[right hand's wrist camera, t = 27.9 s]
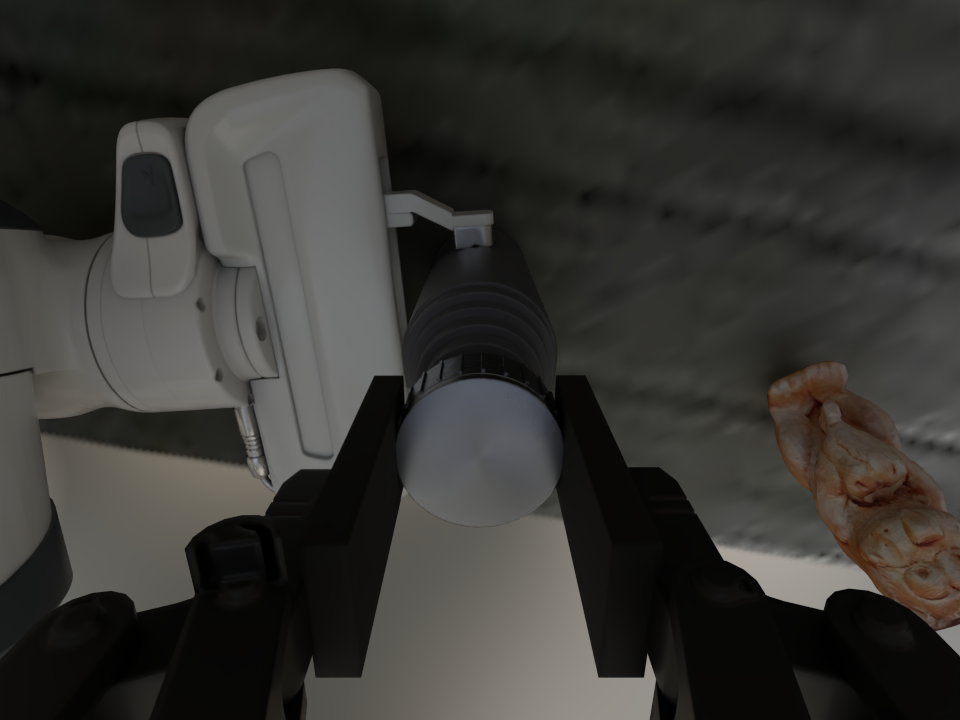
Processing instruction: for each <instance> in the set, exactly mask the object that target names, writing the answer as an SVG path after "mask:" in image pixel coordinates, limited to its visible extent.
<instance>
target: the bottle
mask: <svg viewBox="0 0 960 720" xmlns="http://www.w3.org/2000/svg"><path fill="white" fill-rule="evenodd" d="M494 243H495V245H494V246H491V247H479V246H477V245H474V246H472V247H471V248H466V249H456V247H455V237H454V234H453V235H452V236H451V237H449V238H448V239H447V240H446V241H445V242H444V243H443V245H442V246H441V247H440V249H439V250H438V252H437V255H436V257H435V259H434V262H433V264H432V267H431V269H430V272H429V274H428V277H427V279H426V282H425V284H424V286H423V289H422V291H421V294H420V296H419V299H418V301H417V304H416V306H415V309H414V311H413V314H412V316H411V319H410V321H409V324H408V326H407V329H406V332H405V335H404V339H403V345H402V360H403V369H404V375H405V379H406V383H407V386H408V388H409V390H410V388H411V386H412V387H414V386H415V384H416V383H417V381H418V380H419V379H420V378H421V377H422V374H423V372H424V371H425V372H427V371H429V370H430V369H431V368H433V367H434V366H436V365H437V364H439V362H440V361H441V360H443V361H445V360H447V359H450V358H452V357H456V356H459V355H460V354H461V353H463V355H464V354H471V353H481V352H485V353H488V354H496V355H500V356H503V355H506V357H507V358H510V359H513V360H515V361H517V362H519V363H521V364H522V363H524V364H525V365H526V367H527V368H528V369H530V370H531V371H532V372H533V373H534V374H536V375H537V376H540V377H541V379H542V382H543V383H544V384H545V386H546V388H547V389H548V391H550V388H551V386H552V384H553V380H554V376H555V370H556V362H557V344H556V338H555V335H554V331H553V328H552V326H551V323H550V321H549V318H548V316H547V313H546V311H545V308H544V306H543V303H542V301H541V298H540V296H539V293H538V291H537V288H536V286H535V283H534V281H533V279H532V276H531V274H530V271H529V269H528V266H527V264H526V261H525V259H524V256H523V254H522V252H521V250H520V248H519V247H518V245H517V244H516V243H515V242H514V241H513V240H512V239H511V238H510V237H509V236H507V235H506V234H504V233H503V232H501V231H499V230H496V229H494Z"/></svg>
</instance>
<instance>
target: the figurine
mask: <svg viewBox="0 0 960 720" xmlns="http://www.w3.org/2000/svg"><path fill="white" fill-rule="evenodd" d="M848 377H849V376H848V373H847V370H846V367H845V365H844V364H839V363H837V362H835V361H825V362H821V363H817V364H812V365H810V366H808V367H806V368H803V369H801V370H799V371H797V372H795V373H792V374H790V375H788V376H785V377H783V378H780V379H778V380H776V381H774V382H773V383H772V384H771V385H770V386H769V389H768V391H767V399H768V406H769V410H770V413H771V415H772V417H773V418H774V424H775V433H776V439H777V443H778V447H779V450H780V452H781V455H782V457H783V460H784V462H785V464H786V465H787V467H788V469H789V470H790V472H791V473H792V475H793V476H794V477H795V478H796V479H797V480H798V481H799V483H800V484H801V485H802V486H804V487H805V488H807V489H808V490H810V491H811V492H812V493H813V496H814V499H815V504H816V509H817V511H818V513H819V515H820V517H821V518H822V520H823V521H824V523H825V524H826V525H827V526H828V528H829V529H830V531H831V532H832V533H833V535H834V537H835V539H836V541H837V542H838V544H839V545H840V547H841V548H842V550H843V551H844V552H845V554H846V555H847V556H848V557H849V558H850V559H851V560H852V561H854V562H855V563H856V564H857V565H858V566H859V567H860V568H861V569H862V570H863V571H864V572H865V573H866V574H867V575H868V576H869V578H870V579H871V580H872V582H873V583H874V585H875V587H876V588H877V589H878V590H879V591H880V592H881V593H882V594H883V596H886V597H889V598H890V599H892V600H894V601H896V602H898V603H900V604H902V605H903V606H905V607H907V608H909V609H910V610H912V611H913V612H914V613H915V614H917V615H918V616H919V617H920V618H921V619H923V620H924V621H925V622H926V623H927V624H928V625H929V626H930V627H931V628H932V629H933V630H934V631H938V630H942V629H946V628H949V627H953V626H956V625H958V624H960V522H959V520H958V519H956V518H955V517H954V516H953V515H951V514H949V513H948V509H947V506H946V504H945V499H944V495H943V492H942V489H941V488H940V487H939V485H938V484H937V483H936V481H935V480H934V479H933V478H932V477H931V476H930V475H929V474H928V473H927V472H926V471H925V470H924V469H923V468H921V467H920V466H919V465H918V464H917V463H915V462H913V461H911V460H910V459H908V458H907V457H906V456H905V455H904V454H903V453H902V450H901V443H900V438H899V434H898V431H897V429H896V427H895V425H894V423H893V420H892V419H891V418H890V416H889V415H888V414H887V413H886V412H884V411H883V410H882V409H880V408H879V407H878V406H877V405H875V404H874V403H872V402H870V401H868V400H866V399H864V398H862V397H860V396H858V395H856V394H854V393H852V392H850V391H848V390H846V389H845V386H846V383H847V380H848Z"/></svg>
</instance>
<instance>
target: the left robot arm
mask: <svg viewBox="0 0 960 720" xmlns="http://www.w3.org/2000/svg"><path fill="white" fill-rule="evenodd" d="M418 215H420V216H422V217H425V218H427V219H429V220H431V221H433V222H435V223H437V224H439V225H441V226H443V227H446V228H448V229H450V230H452V231H453V230H454V237H455V247H456V249H466V248H471V247H472V246H474V245H477V246H479V247H491V246H494V245H495V243H494V222H493V210H473V211H458V212H454V209H453V208H451V207H449V206H447V205H445V204H443V203H441V202H439V201H437V200H435V199H433V198H431V197H429V196H427V195H425V194H423V193H421V192H419V191H417V190H406V191H392V187H391V179H390V170H389V162H388V154H387V145H386V137H385V128H384V120H383V112H382V103H381V97H380V94H379V93H378V91H377V90H376V89H375V88H374V87H373V86H372V85H371V84H370V83H368V82H367V81H366V80H365V79H364V78H363V77H361V76H360V75H358V74H357V73H355V72H353V71H351V70H347V69H340V68H336V69H320V70H312V71H305V72H298V73H292V74H286V75H280V76H275V77H271V78H266V79H261V80H257V81H253V82H249V83H245V84H241V85H238V86H235V87H231V88H228V89H225V90H222V91H220V92H217V93H215V94H213V95H211V96H210V97H208V98H206V99H205V100H204V101H202V102H201V103H200V104H199V105H198V106H197V107H196V108H195V109H194V111H193V112H192V114H191V115H190V118H174V117H170V118H153V119H146V120H140V121H136V122H131V123H128V124H126V125H124V126H123V127H122V128H121V130H120V132H119V135H118V138H117V149H116V204H115V223H114V232H112V233H109V234H106V235H103V236H100V237H97V238H93V239H89V240H74V239H70V238H65V237H61V236H55V235H44V234H43V231H44V229H43V228H41V227H40V226H39V225H38V224H37V223H35V222H34V221H33V220H32V219H30V218H29V217H27V216H26V215H24V214H23V213H21V212H20V211H18V210H17V209H15V208H13V207H12V206H10V205H8V204H6V203H5V202H3V201H1V200H0V659H1V658H2V657H3V656H4V655H5V654H6V653H7V652H8V651H9V650H10V649H11V648H12V647H13V646H14V645H15V644H16V643H17V642H18V641H19V640H20V639H21V638H22V637H23V636H24V635H25V634H26V633H27V632H28V631H29V630H30V629H31V627H32V626H33V625H35V624H36V623H37V622H38V621H39V620H41V619H42V618H43V617H44V616H46V615H47V614H48V613H49V612H51V611H52V610H54V609H56V608H58V607H59V605H60V604H61V602H62V601H63V599H64V597H65V596H66V594H67V592H68V590H69V588H70V586H71V583H72V579H73V572H72V568H71V564H70V560H69V556H68V553H67V549H66V545H65V541H64V537H63V534H62V530H61V526H60V522H59V518H58V514H57V511H56V507H55V505H54V502H53V500H52V499H51V498H50V496H49V489H48V482H47V476H46V469H45V462H44V456H43V449H42V442H41V436H40V429H39V422H38V419H49V418H64V417H71V416H77V415H81V414H84V413H87V412H90V411H93V410H95V409H98V408H102V407H117V408H121V409H125V410H130V411H135V412H166V411H183V410H200V409H214V408H232V407H233V409H234V413H235V416H236V420H237V424H238V428H239V431H240V434H241V436H242V439H243V441H244V444H245V447H246V451H247V455H246V458H247V464H248V467H249V470H250V472H251V474H252V476H253V477H254V478H260V480H261V481H262V483H263V484H264V485H265V486H266V487H267V488H268V489H269V490H271V491H272V492H274V493H275V495H276V494H277V492H278V490H279V489H280V487H281V485H282V484H283V482H285V481H286V480H287V479H289V478H290V477H291V476H292V475H294V474H295V473H296V472H298V471H299V470H300V469H331V468H332V466H333V464H334V462H335V460H336V458H337V455H338V453H339V451H340V449H341V447H342V445H343V442H344V440H345V438H346V436H347V434H348V432H349V429H350V427H351V425H352V423H353V421H354V419H355V416H356V414H357V412H358V410H359V408H360V406H361V403H362V401H363V399H364V397H365V395H366V393H367V390H368V388H369V386H370V384H371V382H372V379H373V377H374V375H403V376H404V395H405V404H406V401H407V397H408V394H409V388H408V386H407V383H406V379H405V375H404V369H403V360H402V345H403V339H404V335H405V332H406V329H407V326H408V322H407V314H406V305H405V297H404V289H403V280H402V272H401V263H400V255H399V246H398V238H397V230H396V227H405V226H412V225H413V223H414V222H415V221H416V220H417V219H418ZM269 474H270V477H271V480H270V479H269V477H268V475H269ZM407 495H408V492H407V491H406V489H405V488H403V492H402V497H401V499H402V498H404V497H405V496H407Z"/></svg>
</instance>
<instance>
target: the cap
mask: <svg viewBox="0 0 960 720" xmlns="http://www.w3.org/2000/svg"><path fill="white" fill-rule="evenodd" d="M557 414H558V411H557V407H556V404H555V401H554V397H553V394H552V392H551V391H550V392H549V391H548V389H547V388H546V386H545V384H544V383H543V382H542V379H541V377H540V376H537V375H536V374H534V373H533V372H532V371H531V370H530V369H528V368H527V367H526V365H525V364H524V363H522V364H521V363H519V362H517V361H515V360H513V359H510V358H507V357H506V355H503V356H500V355H496V354H488V353H485V352H481V353H471V354H464V355H463V353H461V354H460V355H459V356H456V357H452V358H450V359H447V360H445V361H443V360H441V361H440V362H439V364H437V365H436V366H434V367H433V368H431V369H430V370H429V371H427V372H425V371H424V372H423V374H422V377H421V378H420V379H419V380H418V381H417V383H416V384H415V386H414V387H412V386H411V388H410V390H409V394H408V397H407V401H406V404H404V405H403V408H402V411H401V415H400V418H399V422H398V431H397V435H396V454H397V470H398V475H399V478H400V480H401V482H402V484H403V486H404V488H405V489H406V491H407V492H408V494H409V495H410V496H411V497H412V499H413V500H414V501H415V502H416V503H418V505H420V506H421V507H422V508H423V509H425V510H426V511H427V512H429V513H431V514H432V515H434V516H436V517H438V518H440V519H442V520H444V521H447V522H450V523H453V524H457V525H462V526H469V527H491V526H498V525H502V524H506V523H510V522H512V521H515V520H518V519H520V518H522V517H524V516H526V515H528V514H529V513H531V512H532V511H534V510H535V509H536V508H538V507H539V506H540V505H541V504H542V503H543V502H544V501H545V500H546V499H547V498H548V497H549V496H550V494H551V493H552V492H553V490H554V489H555V487H556V485H557V483H558V481H559V479H560V477H561V474H562V465H563V449H564V437H563V433H562V430H561V426H560V423H559V419H558V416H557Z"/></svg>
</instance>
